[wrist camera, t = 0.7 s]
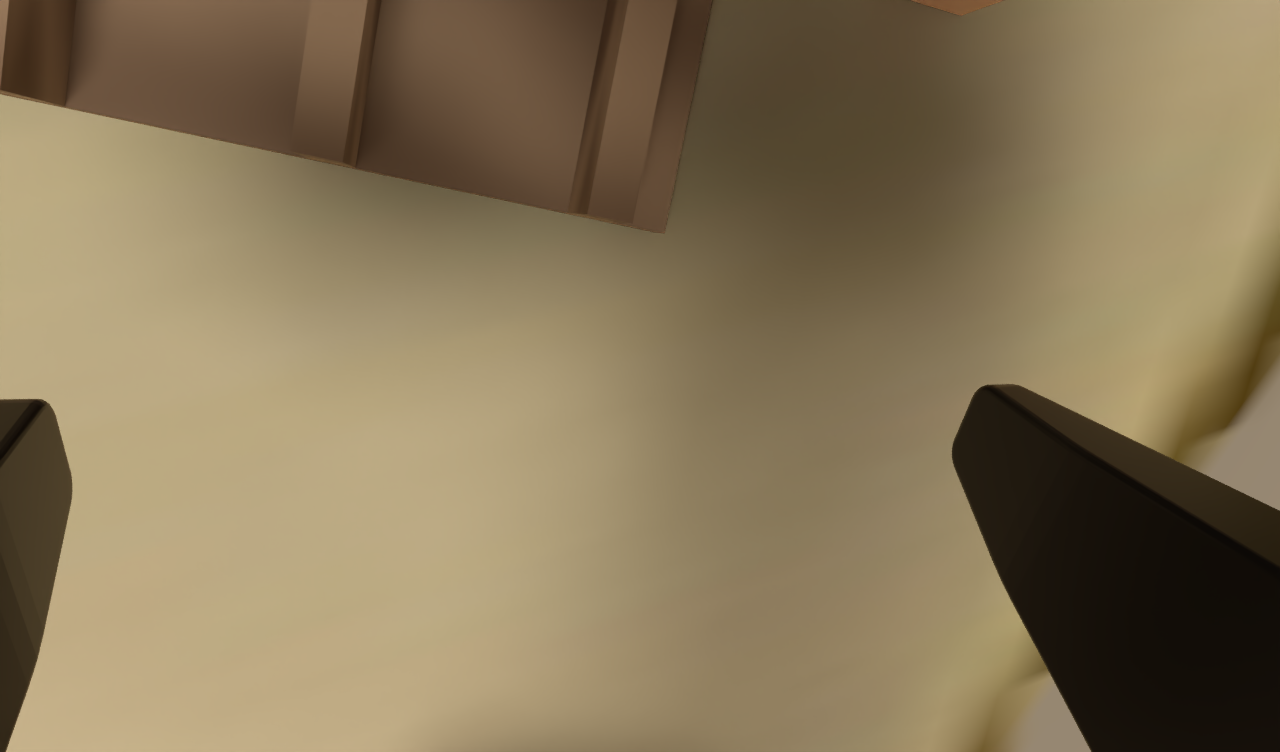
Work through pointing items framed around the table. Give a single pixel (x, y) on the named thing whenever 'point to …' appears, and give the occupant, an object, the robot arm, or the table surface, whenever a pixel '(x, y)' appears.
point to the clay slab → (958, 5)
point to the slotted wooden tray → (394, 86)
